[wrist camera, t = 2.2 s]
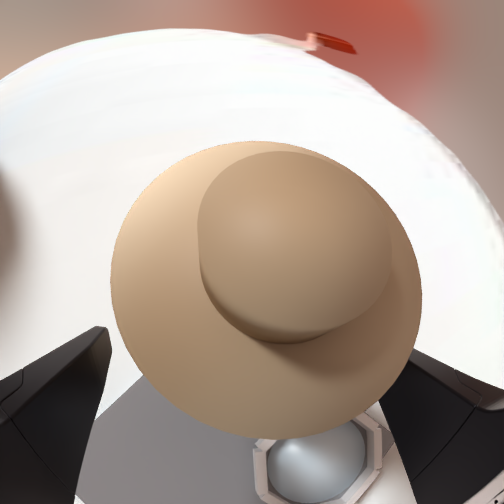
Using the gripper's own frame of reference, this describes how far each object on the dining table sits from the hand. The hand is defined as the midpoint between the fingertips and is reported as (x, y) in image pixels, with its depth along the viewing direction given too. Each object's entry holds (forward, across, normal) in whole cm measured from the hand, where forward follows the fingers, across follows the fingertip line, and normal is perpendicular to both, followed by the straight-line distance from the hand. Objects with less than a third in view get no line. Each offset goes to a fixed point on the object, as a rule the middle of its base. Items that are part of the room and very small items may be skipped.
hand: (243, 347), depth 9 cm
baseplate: (+1, 0, +12) cm, 12 cm away
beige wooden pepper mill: (+6, 0, +6) cm, 8 cm away
